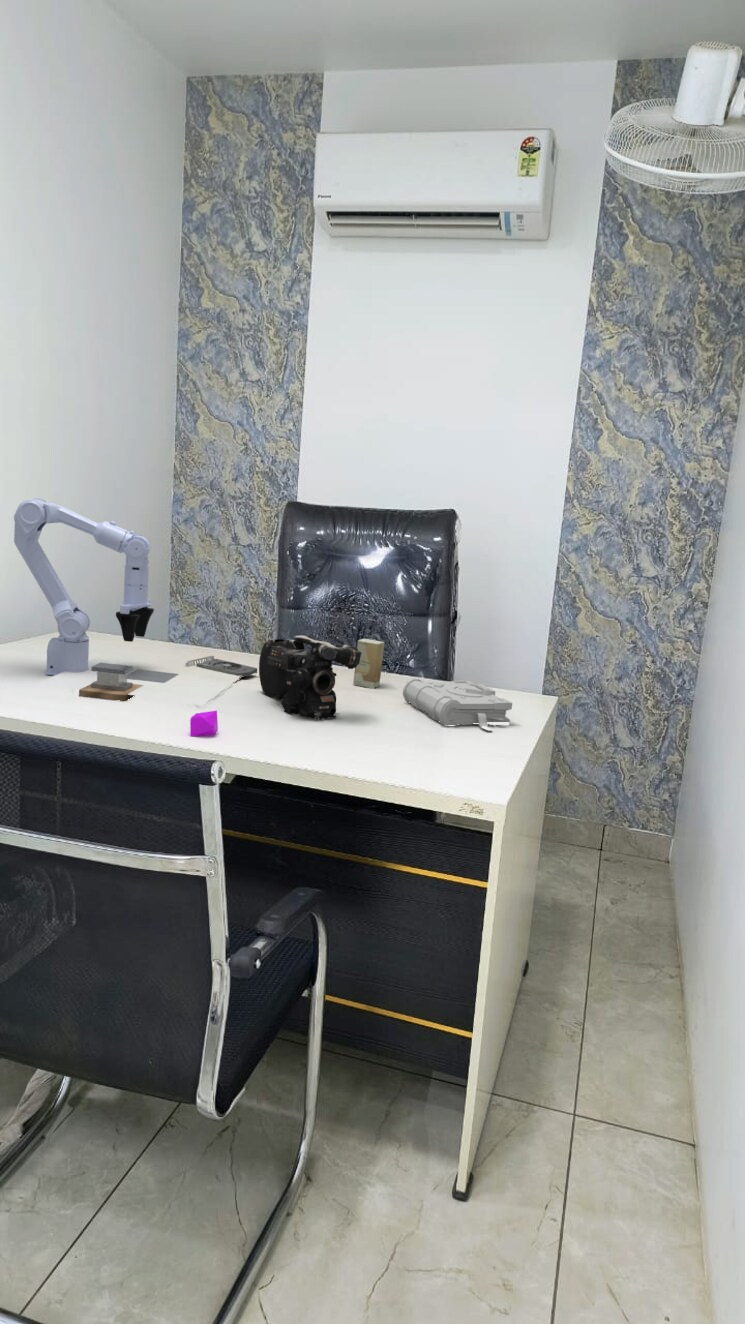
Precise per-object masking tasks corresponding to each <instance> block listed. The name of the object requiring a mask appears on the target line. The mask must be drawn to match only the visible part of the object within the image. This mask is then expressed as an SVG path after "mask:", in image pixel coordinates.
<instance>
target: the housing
mask: <svg viewBox="0 0 745 1324" xmlns="http://www.w3.org/2000/svg"><path fill="white" fill-rule="evenodd" d="M90 668H91V672H96V681H93V682H91V683H90V684H91V688H97V689H106V690H115V691H123V692H125V691H126V690H128V689H130V688H132V687H133V684H134V683H133V682H129V681H128V679H127V674H129V673H131V672H133V671H134V666H133V665H125V664H117V663H109V662H99V663H96V664H94V665H92V666H91V667H90Z"/></svg>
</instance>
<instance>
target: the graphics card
mask: <svg viewBox="0 0 745 1324" xmlns="http://www.w3.org/2000/svg"><path fill="white" fill-rule="evenodd" d="M184 665H185V667H192V666H196V667H197V668H201V669H205V670H210V671H213V672H214V671H215V672H220V673H223V674H228V675H232V676H238V678H239V679H240V678H243V677H249V676H251V675H253V674H258V668H257V667H255V666H254V667H253V666H249V665H245V664H240V663H237V662H232V661H229V660H224V659H220V658H215V656H214V655H209V656H203V657H201V658H195V659H191V660H188V661H187V662H185V664H184Z"/></svg>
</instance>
